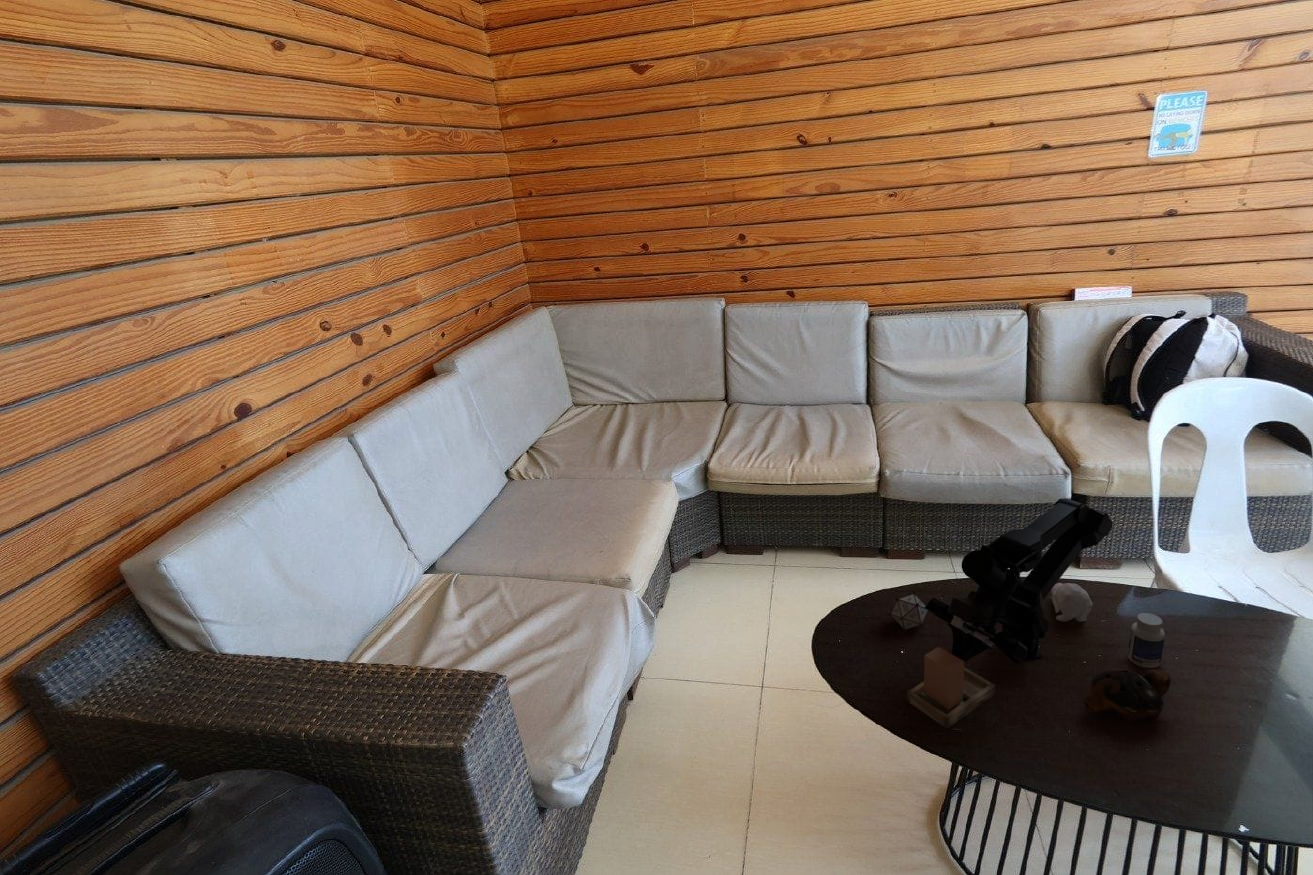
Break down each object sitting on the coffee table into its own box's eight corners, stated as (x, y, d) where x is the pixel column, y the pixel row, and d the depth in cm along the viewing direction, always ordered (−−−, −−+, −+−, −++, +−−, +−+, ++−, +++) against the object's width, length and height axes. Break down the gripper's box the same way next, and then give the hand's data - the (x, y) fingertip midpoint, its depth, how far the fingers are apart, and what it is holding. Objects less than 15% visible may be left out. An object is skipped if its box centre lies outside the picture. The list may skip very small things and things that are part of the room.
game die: (917, 643, 152) (936, 629, 143) (880, 631, 152) (897, 616, 144) (920, 607, 157) (939, 591, 148) (884, 596, 157) (901, 579, 149)
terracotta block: (937, 684, 132) (938, 646, 129) (962, 700, 127) (964, 661, 124) (923, 693, 130) (924, 655, 127) (949, 710, 125) (950, 670, 122)
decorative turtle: (1185, 720, 119) (1192, 685, 116) (1107, 743, 117) (1112, 709, 114) (1140, 681, 128) (1145, 649, 125) (1067, 702, 126) (1070, 670, 123)
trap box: (953, 670, 137) (954, 661, 136) (994, 694, 130) (995, 685, 129) (906, 701, 131) (907, 692, 130) (947, 728, 123) (947, 719, 123)
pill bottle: (1167, 667, 131) (1174, 625, 128) (1138, 670, 131) (1145, 628, 128) (1148, 650, 136) (1154, 609, 133) (1121, 652, 136) (1126, 612, 133)
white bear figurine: (1062, 592, 143) (1043, 567, 154) (1060, 628, 145) (1041, 600, 156) (1095, 592, 141) (1073, 567, 153) (1093, 628, 143) (1071, 601, 155)
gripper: (931, 562, 132) (892, 631, 131) (1022, 603, 117) (979, 682, 116) (956, 581, 139) (919, 648, 137) (1045, 623, 123) (1005, 698, 122)
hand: (952, 667), depth 128 cm, fingers closed
